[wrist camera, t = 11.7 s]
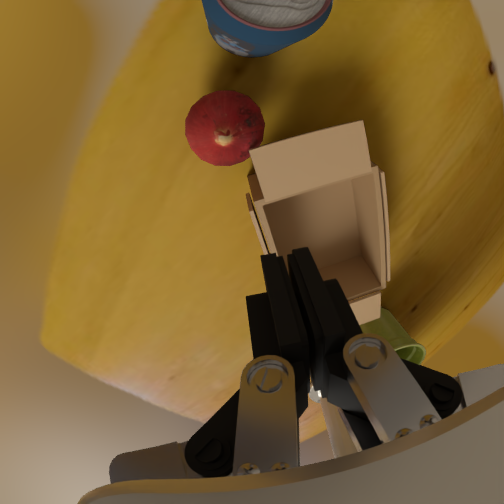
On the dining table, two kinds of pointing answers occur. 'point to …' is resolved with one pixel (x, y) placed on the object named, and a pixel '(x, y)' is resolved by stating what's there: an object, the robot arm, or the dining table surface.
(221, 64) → the dining table surface
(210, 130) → the onion
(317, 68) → the dining table surface
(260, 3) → the soda can
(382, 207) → the carton
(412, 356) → the plant pot
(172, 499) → the robot arm
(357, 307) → the flap
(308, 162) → the flap
